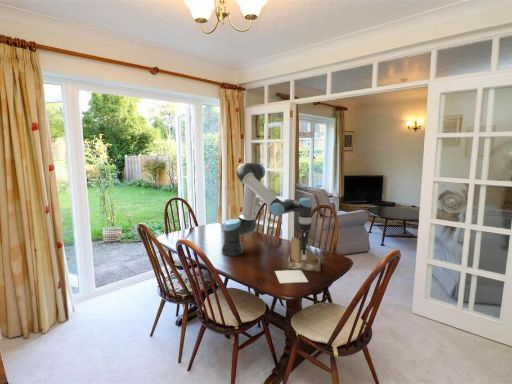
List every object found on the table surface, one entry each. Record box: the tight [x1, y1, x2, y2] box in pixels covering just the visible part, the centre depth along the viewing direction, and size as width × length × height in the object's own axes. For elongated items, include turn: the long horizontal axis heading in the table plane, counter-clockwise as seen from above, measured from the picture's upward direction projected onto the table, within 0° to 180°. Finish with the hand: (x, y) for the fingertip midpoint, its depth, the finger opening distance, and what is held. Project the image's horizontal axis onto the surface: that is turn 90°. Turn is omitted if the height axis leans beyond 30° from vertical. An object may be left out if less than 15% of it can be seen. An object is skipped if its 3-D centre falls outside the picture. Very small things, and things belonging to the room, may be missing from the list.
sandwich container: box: [290, 236, 318, 263], centre depth 185 cm, size 9×15×15 cm, turn 114°
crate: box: [286, 253, 321, 272], centre depth 186 cm, size 20×15×5 cm
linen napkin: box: [274, 269, 309, 285], centre depth 170 cm, size 16×16×1 cm
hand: (304, 255), depth 185 cm, fingers open, 13 cm apart
